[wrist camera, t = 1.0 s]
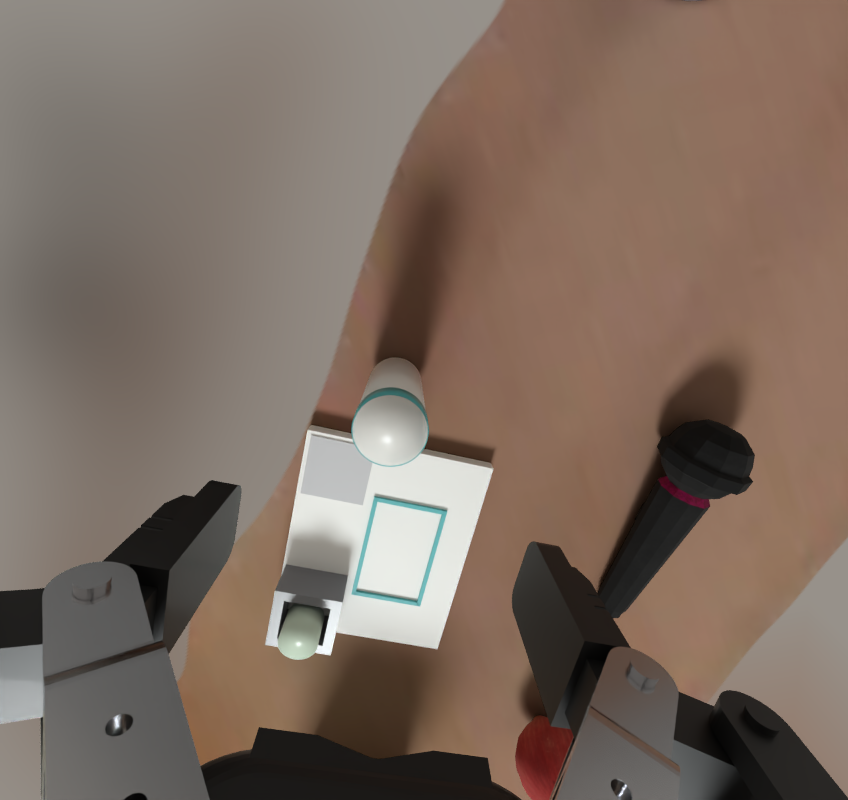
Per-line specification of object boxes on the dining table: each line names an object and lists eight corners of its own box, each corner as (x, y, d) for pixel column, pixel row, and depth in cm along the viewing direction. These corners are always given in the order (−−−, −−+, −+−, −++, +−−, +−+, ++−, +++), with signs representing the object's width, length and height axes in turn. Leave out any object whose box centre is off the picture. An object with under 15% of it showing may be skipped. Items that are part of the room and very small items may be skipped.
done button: (290, 598, 31) (280, 624, 28) (327, 604, 31) (320, 631, 29) (284, 627, 31) (274, 656, 29) (321, 634, 32) (314, 662, 29)
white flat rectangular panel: (310, 424, 30) (306, 430, 29) (490, 462, 32) (494, 470, 30) (276, 612, 35) (272, 623, 33) (436, 639, 36) (437, 651, 35)
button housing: (286, 564, 32) (275, 590, 30) (348, 575, 33) (342, 602, 30) (276, 614, 33) (265, 644, 31) (336, 625, 34) (330, 655, 31)
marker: (375, 347, 29) (359, 386, 19) (427, 359, 29) (436, 403, 20) (365, 397, 30) (344, 458, 20) (415, 408, 30) (418, 473, 21)
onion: (577, 692, 38) (619, 799, 30) (567, 742, 40) (605, 855, 32) (510, 692, 38) (536, 799, 30) (503, 742, 39) (526, 856, 32)
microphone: (593, 604, 39) (716, 410, 32) (637, 666, 35) (795, 455, 27) (544, 606, 37) (664, 399, 30) (584, 672, 32) (740, 446, 25)
